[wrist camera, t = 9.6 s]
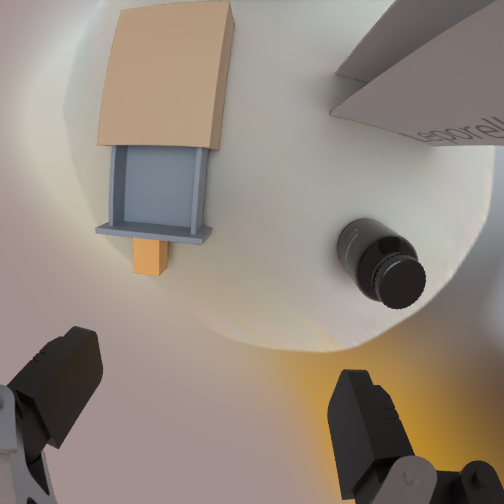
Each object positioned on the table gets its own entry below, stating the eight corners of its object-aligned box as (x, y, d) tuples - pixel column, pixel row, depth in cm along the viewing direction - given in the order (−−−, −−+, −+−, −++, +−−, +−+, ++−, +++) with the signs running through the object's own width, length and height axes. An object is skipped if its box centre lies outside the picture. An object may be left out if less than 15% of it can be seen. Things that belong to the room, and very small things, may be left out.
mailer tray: (126, 94, 30) (105, 85, 25) (224, 94, 30) (217, 81, 25) (117, 254, 36) (97, 268, 31) (208, 265, 36) (199, 282, 30)
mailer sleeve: (140, 28, 28) (121, 10, 22) (234, 24, 28) (229, 1, 22) (121, 146, 32) (97, 145, 27) (218, 150, 32) (209, 147, 26)
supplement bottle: (330, 225, 34) (362, 256, 23) (384, 212, 33) (434, 235, 22) (341, 279, 36) (371, 328, 24) (391, 265, 35) (437, 306, 24)
